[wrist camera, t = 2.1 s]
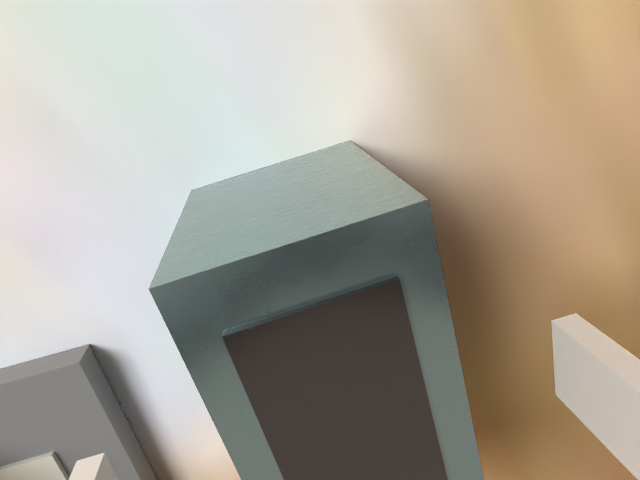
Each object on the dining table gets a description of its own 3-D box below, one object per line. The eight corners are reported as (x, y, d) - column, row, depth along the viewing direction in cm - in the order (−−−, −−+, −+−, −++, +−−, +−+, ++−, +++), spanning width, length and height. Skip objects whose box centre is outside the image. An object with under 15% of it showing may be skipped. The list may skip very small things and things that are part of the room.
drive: (349, 140, 17) (431, 201, 9) (413, 389, 22) (502, 564, 14) (191, 189, 17) (147, 292, 9) (289, 431, 21) (313, 631, 14)
